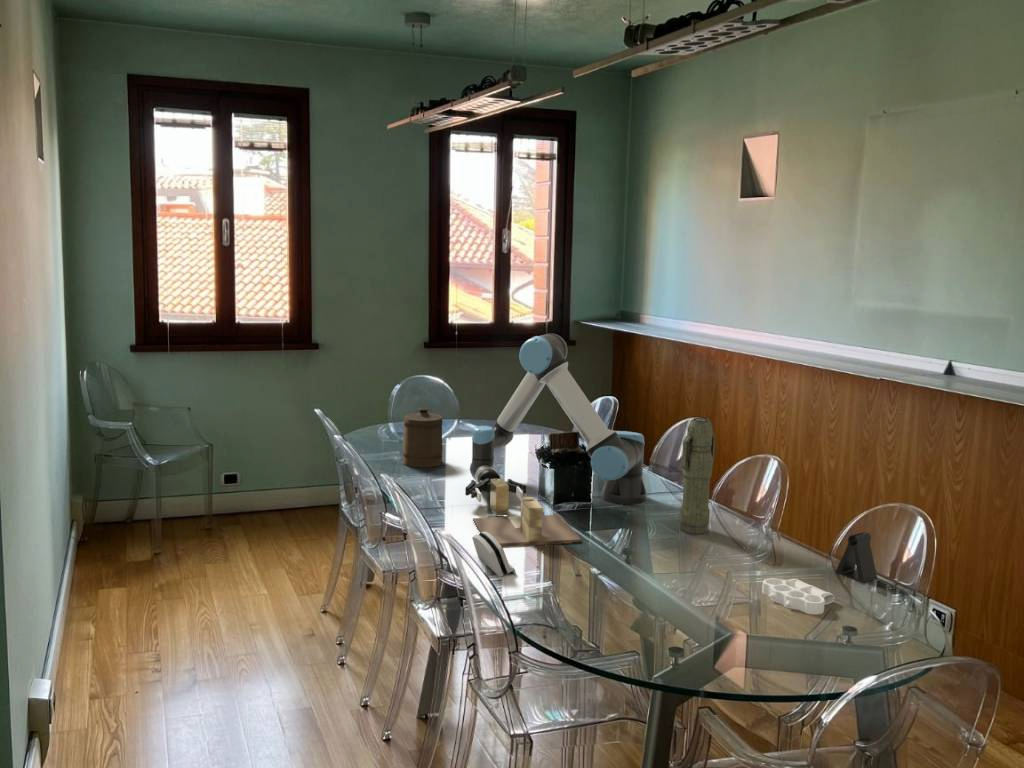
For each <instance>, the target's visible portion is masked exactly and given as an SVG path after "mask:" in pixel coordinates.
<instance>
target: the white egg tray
mask: <svg viewBox="0 0 1024 768" xmlns="http://www.w3.org/2000/svg"><path fill="white" fill-rule="evenodd" d="M761 587H762V589H761V593H762V594H763V595H765V596H767V597H768V598H769V599H770V600H771V601H773V603H776V604H779V605H782V606H783V607H785V608H788V609H791V610H796V611H801V612H803V613H805V614H808V615H821V614H823V613H824V612H825V605H826V606H827V605H829V604H832V603H833V602H834V601H835V597H836V596H835V595H834V594H833V593H831V592H829V591H825V590H823V589H822V588H818V587H817V586H814V585H811V584H808V583H806V582H804V581H803V580H800V579H798V578H790V579H782V578H781V579H780V578H777V577H776V578H775V577H774V578H773V577H769V578H765V579H763V581H762V586H761Z"/></svg>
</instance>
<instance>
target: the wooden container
mask: <svg viewBox="0 0 1024 768" xmlns="http://www.w3.org/2000/svg"><path fill="white" fill-rule="evenodd" d="M418 410H419V412H415V413H414V412H413V413H408V414H405V415H404V417H403V443H402V446H403V447H402V453H403V455H402V461H403V464H404V465H405V466H408V467H412V468H422V469H423V468H433V467H438V466H441V465H442V463H443V416H442V415H440V414H438V413H432V412H428V411H429V408H428V407H427V406H425V405H423V406H420V407H419V409H418Z"/></svg>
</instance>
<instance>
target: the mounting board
mask: <svg viewBox="0 0 1024 768" xmlns="http://www.w3.org/2000/svg"><path fill="white" fill-rule="evenodd" d="M543 510H544V509H543V506H542V505H541V504H540V503H539V501H538V500H537V499H536V497H534V496H533V497H532V496H523V498H521V500H520V516H508V517H495V516H494V517H473V518H472V522H473V521H474V523H475V524H474V523H473V524H474V526H475V525H476V526H475V527H477V528H476V530H477V531H478V530H479V531H478V532H480V533H481V532H488V533H490V534H491V535H492V536H493V537H494V538H495V539H496V540H497V541H498V543H499V544H500V545H501V547H502V548H503V547H522V546H541V545H558V544H559V545H561V544H563V543H564V544H573V543H572V542H580V541H581V542H582V538H581V537H580V536H579V535H578V534H577V533H576V531H574V529H573V528H572V527H571V526H570V525H569V524H568V522H567V521H566V520H565V519H564V518H563V517H562V516H561V515H560V514H545V515H543ZM480 533H479V534H480Z"/></svg>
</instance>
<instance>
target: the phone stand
mask: <svg viewBox="0 0 1024 768" xmlns="http://www.w3.org/2000/svg"><path fill="white" fill-rule="evenodd" d="M871 539H872V537H871V534H870V533H869V532H865V531H862V532H859V533H855V534H852V535H849V536H848V538H847V546H846V548H845V550H844V553H843V554H842V556H841V559H840V561H839V563H838V565H837V567H836V570H835V574H837V575H840V576H842V577H845V578H847V579H850V580H853V581H856V582H859V583H861V584H862V583H863V584H865V583H867V582H871V581H873V580H877V579H878V574H877V570H876V567H875V561H874V556H873V552H872V548H871Z"/></svg>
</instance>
